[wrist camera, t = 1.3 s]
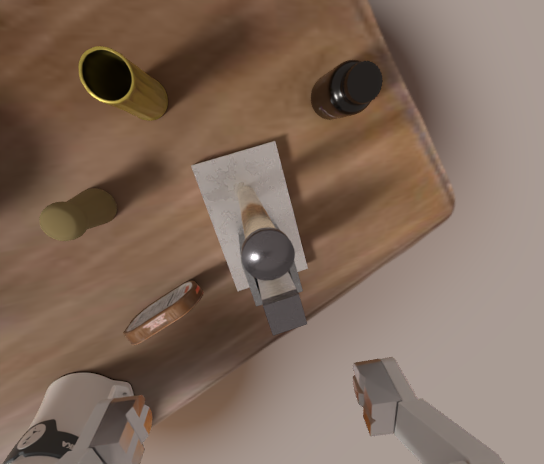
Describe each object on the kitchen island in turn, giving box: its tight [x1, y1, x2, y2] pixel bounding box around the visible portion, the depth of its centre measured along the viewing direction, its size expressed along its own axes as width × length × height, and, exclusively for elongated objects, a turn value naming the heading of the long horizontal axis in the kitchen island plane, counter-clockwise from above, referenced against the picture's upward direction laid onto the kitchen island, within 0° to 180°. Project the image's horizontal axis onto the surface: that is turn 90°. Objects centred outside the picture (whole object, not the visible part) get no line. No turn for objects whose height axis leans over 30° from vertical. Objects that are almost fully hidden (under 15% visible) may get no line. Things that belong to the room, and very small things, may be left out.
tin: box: [123, 281, 204, 345], centre depth 47 cm, size 15×3×8 cm, turn 122°
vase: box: [79, 46, 168, 120], centre depth 34 cm, size 6×6×14 cm
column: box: [257, 272, 307, 335], centre depth 39 cm, size 4×4×20 cm
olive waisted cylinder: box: [40, 188, 117, 241], centre depth 39 cm, size 6×6×11 cm
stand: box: [191, 141, 308, 306], centre depth 35 cm, size 24×14×29 cm, turn 16°
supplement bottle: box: [311, 60, 382, 120], centre depth 39 cm, size 7×7×12 cm
